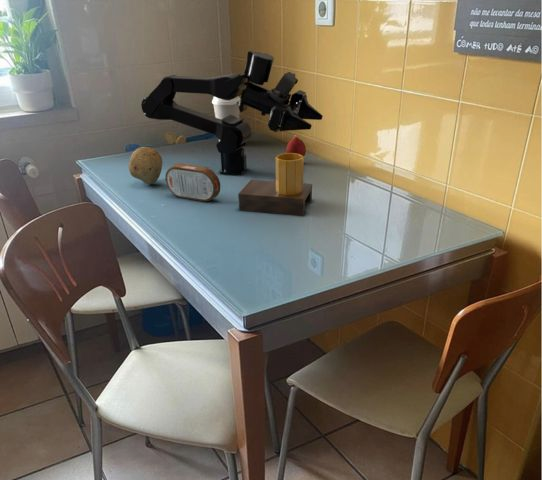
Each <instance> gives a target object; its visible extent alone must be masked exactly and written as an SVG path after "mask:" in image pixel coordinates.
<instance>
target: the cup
mask: <svg viewBox="0 0 542 480" xmlns="http://www.w3.org/2000/svg"><path fill="white" fill-rule="evenodd" d="M304 164H305V156H302V155H301V154H296V153H286V152H284V153H280V154H277V155H276V156H275V181H276V191H277V192H278V193H279V194H284V195H296V194H299V193H302V191H303V183H304V173H305V171H304V170H305V169H304V168H305V167H304V166H305V165H304Z"/></svg>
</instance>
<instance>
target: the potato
mask: <svg viewBox="0 0 542 480" xmlns="http://www.w3.org/2000/svg"><path fill="white" fill-rule="evenodd" d="M162 168H163V158H162V156H161V153H159V152H158V151H157V150H156V149H155V148H153V147H149V146H140V147H138V148H136V149H135V150H134V151H133V152H132V154H131V155H130V159H129V163H128V171H129V174H130V175H131V177H133V178H134V179H137V180H140V181H141V182H143V183H144V184H146V185H154V184H155V183H156V182H157V181H158V180H159V179H160V176H161V173H162V170H163V169H162Z"/></svg>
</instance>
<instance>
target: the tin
mask: <svg viewBox="0 0 542 480" xmlns="http://www.w3.org/2000/svg"><path fill="white" fill-rule="evenodd" d="M165 183H166V186H167V188H168V190H169V191H170V192H171V193H172V194H173V195H174V196H176V197H177V198H181V199H186V200H187V199H188V200H192V201H193V200H194V201H199V202H209V201H212V200H213V199H215V198H216V197H218V196H219V194H220V192H221V181H220V178H219V176H218V175H217V174H216V172H215V171H214V170H212V169H211V168H209V167H207V166H204V165H203V166H202V165H196V164H188V163H183V162H177V163H174V164H173V165H172V166H171V167H169V168H168V169H167V171H166V172H165Z"/></svg>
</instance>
